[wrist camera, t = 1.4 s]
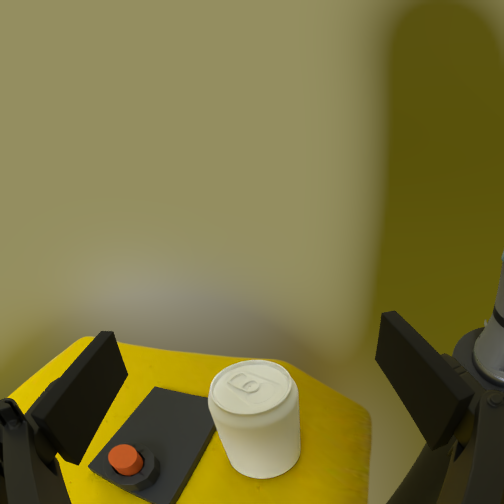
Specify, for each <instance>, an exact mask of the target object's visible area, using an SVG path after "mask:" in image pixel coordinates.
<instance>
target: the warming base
mask: <svg viewBox="0 0 504 504" xmlns="http://www.w3.org/2000/svg"><path fill="white" fill-rule="evenodd" d="M215 430H216V426H215V423H214V421H213V418H212V415H211V412H210V410H209V406H208V398H206V397H201V396H195V395H190V394H185V393H181V392H176V391H172V390H167V389H163V388H159V387H154V388H153V389H152V390H151V392H150V393H149V394H148V395H147V396H146V398H145V399H144V400H143V401H142V402H141V404H140V405H139V406H138V407H137V408H136V410H135V411H134V412H133V413H132V414H131V416H130V417H129V418H128V419H127V420H126V422H125V423H124V424H123V425H122V426H121V428H120V429H119V430H118V431H117V432H116V433H115V435H114V436H113V437H112V438H111V439H110V441H109V442H108V443H107V444H106V445H105V446H104V448H103V449H102V450H101V451H100V452H99V454H98V455H97V456H96V457H95V458H94V459H93V461H92V462H91V463H90V464H89V465H88V467H89V468H90V469H91V471H93V472H94V473H96V474H98V475H99V476H101V477H102V478H104V479H106V480H107V481H109V482H111V483H113V484H114V485H116V486H118V487H120V488H121V489H123V490H125V491H127V492H129V493H131V494H133V495H135V496H137V497H139V498H142V499H144V500H146V501H148V502H150V503H152V504H175V503H176V501H177V499H178V498H179V496H180V494H181V493H182V491H183V489H184V487H185V486H186V484H187V482H188V480H189V478H190V477H191V475H192V473H193V471H194V469H195V468H196V466H197V464H198V462H199V460H200V458H201V457H202V455H203V453H204V451H205V449H206V447H207V445H208V443H209V441H210V440H211V438H212V436H213V434H214V432H215ZM122 444H126V445H130V446H132V447H133V448H135V450H136V451H137V452H138V454H139V455H140V456H141V458H142V459H143V467H142V469H141V470H140V471H139V472H138V473H137V474H135V475H131V476H126V475H122V474H120V473H119V472H118V471H117V470H116V469H115V468H114V467H113V466H112V465H111V464H110V462H109V460H108V455H109V452H110V451H111V450H112V449H113V448H114V447H116V446H118V445H122Z"/></svg>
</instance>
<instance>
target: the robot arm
mask: <svg viewBox="0 0 504 504" xmlns="http://www.w3.org/2000/svg"><path fill="white" fill-rule="evenodd" d="M502 261H503V263H502V270H501V276H500V282H499V287H498V293H497V297H496V302H495V306H494V310H493V314H492V316H491V318H490V319H489V321H488V323H487V322H486V320H485V322H484V325H485V329H484V331H483V332H482V333H481V334H480V335H479V337H478V338H477V340H476V342H475V345H474V349H473V352H472V362H473V365H474V367H475V369H476V371H477V372H478V374H479V375H480V376H481V377H482V378H483V379H485V380H486V381H487V382H489V383H491V384H492V385H495V386H497V387H500V388H504V253H503V255H502ZM375 360H376V361H377V363H378V364H379V366H380V368H381V369H382V371H383V372H384V374H385V375H386V377H387V378H388V380H389V381H390V383H391V384H392V386H393V388H394V389H395V391H396V392H397V394H398V396H399V397H400V399H401V400H402V402H403V404H404V405H405V407H406V408H407V410H408V412H409V413H410V415H411V417H412V418H413V420H414V422H415V423H416V425H417V427H418V428H419V430H420V432H421V433H422V435H423V437H424V438H425V440H426V442H427V444H428V445H429V447H430V449H431V450H432V451H433V450H435V449H437V448H439V447H442V446H444V445H446V444H448V442H449V440H450V439H451V437H452V435H453V434H454V435H455V437H456V438H457V440H456V442H455V443H454V445H453V446H452V448H451V449H450V451H449V452H448V454H447V456H450V454H451V453H452V456H451V459H450V463H449V467H448V470H447V474H446V477H445V480H444V483H443V486H442V489H441V492H440V495H439V498H438V500H437V503H436V504H504V393H502V392H501V391H498V390H488V391H486V390H485V389H484V388H483V387H482V386H481V385H480V384H479V383H478V382H477V380H476V379H475V378H474V377H473V376H472V375H471V374H470V373H469V372H467V370H466V369H465V368H464V367H463V366H461V364H460V363H459V362H458V361H457V360H456V359H455V358H453V357H451V356H449V355H447V354H442V355H440V354H439V353H438V352H436V350H434V348H433V347H432V346H431V345H430V344H429V343H428V342H427V341H426V340H425V339H424V338H423V337H422V336H421V335H420V334H419V333H418V332H416V330H415V329H414V328H413V327H412V326H411V325H410V324H408V323H407V322H406V321H405V320H404V319H403V318H402V317H401V316H400V315H399V314H398V313H397V312H396V311H390V312H384V313H382V315H381V323H380V331H379V338H378V344H377V351H376V356H375ZM127 376H128V373H127V370H126V367H125V365H124V362H123V359H122V356H121V353H120V350H119V347H118V344H117V341H116V338H115V335H114V332H112V331H101V332H100V333H99V334H98V335H97V336H96V337H95V338H94V340H93V341H92V342H91V343H90V344H89V345H88V346H87V347H86V348H85V350H84V351H83V352H82V353H81V354H80V355H79V356H78V357H77V359H76V360H75V361H74V362H73V363H72V364H71V365H70V367H69V368H68V369H67V370H66V371H65V372H64V373H63V375H62V376H61V377H60V378H57V379H56V380H54V381H53V382H51V383H50V384H49V385H48V387H47V388H46V389H45V392H44V391H43V393H42V394H41V395H40V397H38V399H37V400H36V401H35V402H34V403H33V405H32V406H31V407H30V408H29V410H28V411H27V412H26V413H25V415H24V414H23V413H22V411H21V410H20V408H19V407H18V405H17V403H16V402H15V401H14V400H13V399H11V398H4V399H2V400H0V504H71V501H70V498H69V495H68V492H67V489H66V486H65V483H64V480H63V476H62V473H61V469H60V466H59V462H58V460H57V458H56V457H55V455H56V454H57V452H58V453H59V454H60V455H61V457H62V458H63V459H64V460H65V461H67V462H70V463H73V464H75V465H78V466H79V464H80V462H81V460H82V458H83V456H84V454H85V452H86V450H87V448H88V446H89V445H90V443H91V441H92V439H93V437H94V435H95V433H96V431H97V430H98V428H99V426H100V424H101V422H102V420H103V419H104V417H105V415H106V413H107V411H108V410H109V408H110V406H111V404H112V402H113V401H114V399H115V397H116V395H117V394H118V392H119V390H120V388H121V387H122V385H123V383H124V381H125V380H126V378H127ZM452 451H453V452H452Z"/></svg>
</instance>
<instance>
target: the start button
mask: <svg viewBox="0 0 504 504" xmlns="http://www.w3.org/2000/svg"><path fill="white" fill-rule="evenodd" d="M108 460H109V462H110V464H111V465H112V466H113V467H114V468H115V469H116V470H117V471H118V472H119V473H120V474H122V475H126V476H131V475H135V474H137V473H138V472H139V471H140V470H141V469H142V467H143V459H142V458H141V456H140V455H139V454H138V452H137V451H136V450H135V448H133V447H132V446H130V445H126V444H122V445H118V446H116V447H114V448H113V449H112V450H111V451H110V452H109V455H108Z"/></svg>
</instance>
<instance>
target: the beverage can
mask: <svg viewBox="0 0 504 504" xmlns="http://www.w3.org/2000/svg"><path fill="white" fill-rule="evenodd" d="M208 406H209V410H210V412H211V415H212V418H213V421H214V423H215V426H216V428H217V431H218V433H219V436H220V439H221V441H222V444H223V446H224V448H225V451H226V453H227V456H228V458H229V460H230V462H231V464H232V466H233V467H234V468H235V469H236V470H237V471H238V472H240V473H241V474H243V475H246V476H248V477H252V478H259V479H264V478H272V477H276V476H278V475H281V474H283V473H285V472H286V471H288V470H289V469H290V468H292V467H293V466H294V464H295V463H296V462H297V460H298V458H299V455H300V419H299V396H298V388H297V386H296V383H295V382H294V380H293V379H292V378H291V376H290V374H289V372H288V371H287V370H286V369H285V368H284V367H282V366H281V365H279V364H276V363H274V362H270V361H265V360H248V361H243V362H239V363H236V364H233V365H231V366H229V367H227V368H225V369H223V370H222V371H221V372H219V373H218V374H217V375H216V376H215V378H214V379H213V381H212V383H211V385H210V392H209V396H208Z"/></svg>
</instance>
